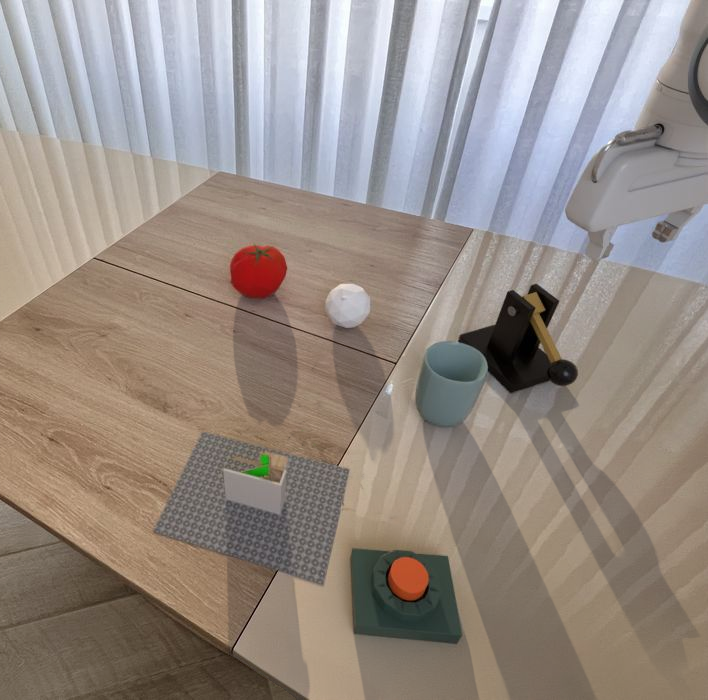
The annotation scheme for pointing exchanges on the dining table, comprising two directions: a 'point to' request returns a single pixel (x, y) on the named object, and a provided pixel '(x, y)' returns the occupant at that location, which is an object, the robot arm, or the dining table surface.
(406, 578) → the button
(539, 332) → the lever with ball knob
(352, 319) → the ornament
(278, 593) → the dining table surface
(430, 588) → the dimmer block
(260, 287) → the tomato
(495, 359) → the lever base
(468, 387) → the cup
